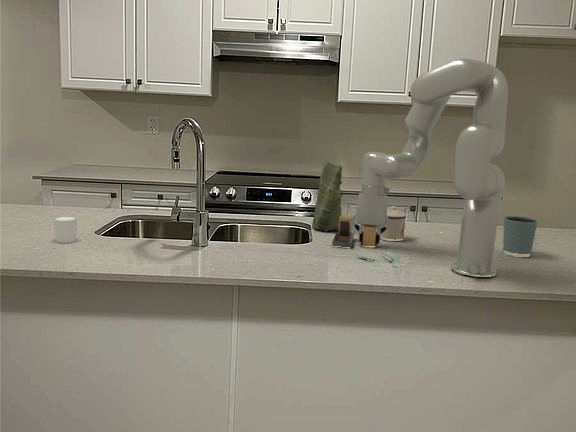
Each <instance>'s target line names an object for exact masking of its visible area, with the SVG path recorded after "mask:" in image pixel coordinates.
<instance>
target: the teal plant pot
mask: <svg viewBox="0 0 576 432" xmlns="http://www.w3.org/2000/svg"><path fill="white" fill-rule="evenodd" d="M537 225H538V220H537V219H535V218H532V217H527V216H520V215H519V216H517V215H508V216H504V217H503V237H502V238H503V243H502V244H503V247H502V251H503V250H505V251H508V252H511V253H518V254H529V253H531V254H532V251H533V245H534V240H535V235H536V230H537Z"/></svg>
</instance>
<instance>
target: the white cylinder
mask: <svg viewBox="0 0 576 432" xmlns="http://www.w3.org/2000/svg"><path fill="white" fill-rule="evenodd" d="M53 226H54V233H55V234H54V235H55V241H56V242H57V243H60V244H61V243H63V244H69V243H73V242H76V240H77V239H76V238H77V227H78V217H75V216H58V217H54V218H53Z"/></svg>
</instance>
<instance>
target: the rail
mask: <svg viewBox="0 0 576 432" xmlns="http://www.w3.org/2000/svg"><path fill="white" fill-rule="evenodd" d="M352 218H353V216H348V215H341V216H340V218H339V231H336V233H335V235H334V237H333V239H332V241H331V242H332V244H331V247H332V246H341V247H351V248H352V246H353V243H352V241H354V239H353V238H354V236H355V233H354V232H352V227H353V226H352V225H351V224H350V223H349V222H350V220H351V219H352ZM351 245H352V246H351Z"/></svg>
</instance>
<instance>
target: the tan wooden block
mask: <svg viewBox="0 0 576 432" xmlns="http://www.w3.org/2000/svg"><path fill="white" fill-rule="evenodd" d="M376 232H377V227H376V226H372V225H364V228H363V246H375V238H376Z"/></svg>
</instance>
